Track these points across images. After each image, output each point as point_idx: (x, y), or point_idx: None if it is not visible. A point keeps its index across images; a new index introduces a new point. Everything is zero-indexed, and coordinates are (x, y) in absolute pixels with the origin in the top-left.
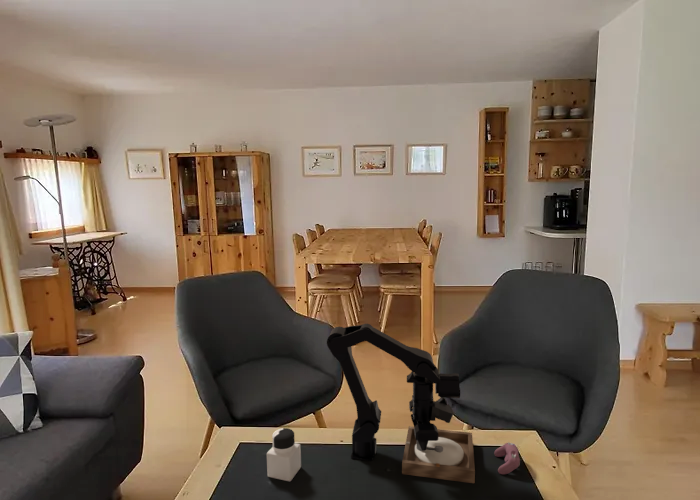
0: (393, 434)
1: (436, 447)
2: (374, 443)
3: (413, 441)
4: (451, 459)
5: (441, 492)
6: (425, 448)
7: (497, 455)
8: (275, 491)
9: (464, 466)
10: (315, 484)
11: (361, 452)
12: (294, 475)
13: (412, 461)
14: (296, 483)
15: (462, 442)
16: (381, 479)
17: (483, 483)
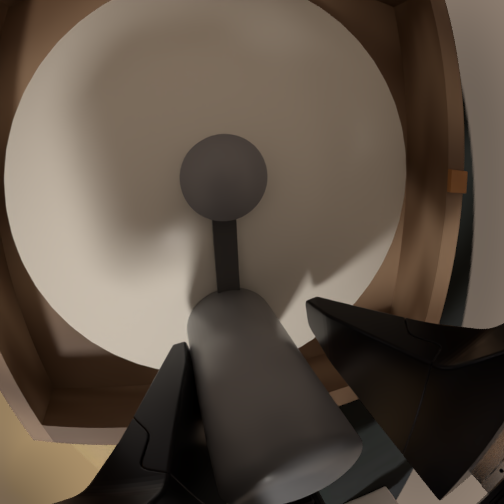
0: (79, 444)
1: (221, 204)
2: (313, 499)
3: (106, 376)
4: (340, 69)
5: (466, 158)
6: (330, 304)
7: None
8: (403, 479)
9: (318, 3)
10: (398, 463)
11: None
12: (372, 493)
13: None
14: (390, 479)
15: (12, 33)
16: None
17: None
